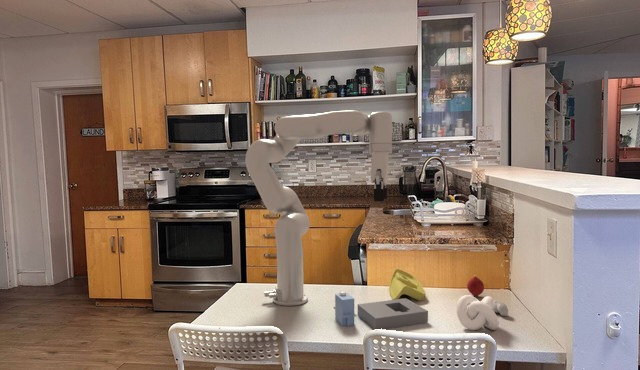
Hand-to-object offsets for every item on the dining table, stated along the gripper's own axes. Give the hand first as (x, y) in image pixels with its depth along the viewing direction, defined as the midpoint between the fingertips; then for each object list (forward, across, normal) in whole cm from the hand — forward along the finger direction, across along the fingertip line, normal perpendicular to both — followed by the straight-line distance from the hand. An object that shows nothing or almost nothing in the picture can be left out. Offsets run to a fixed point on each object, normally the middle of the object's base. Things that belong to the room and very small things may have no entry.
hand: (380, 200), depth 135 cm
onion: (+37, -21, +33) cm, 54 cm away
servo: (+37, +14, -10) cm, 41 cm away
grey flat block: (+37, +8, +4) cm, 38 cm away
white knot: (+38, +8, +30) cm, 49 cm away
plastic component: (+38, -19, +8) cm, 43 cm away
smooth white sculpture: (+38, -5, +38) cm, 53 cm away
